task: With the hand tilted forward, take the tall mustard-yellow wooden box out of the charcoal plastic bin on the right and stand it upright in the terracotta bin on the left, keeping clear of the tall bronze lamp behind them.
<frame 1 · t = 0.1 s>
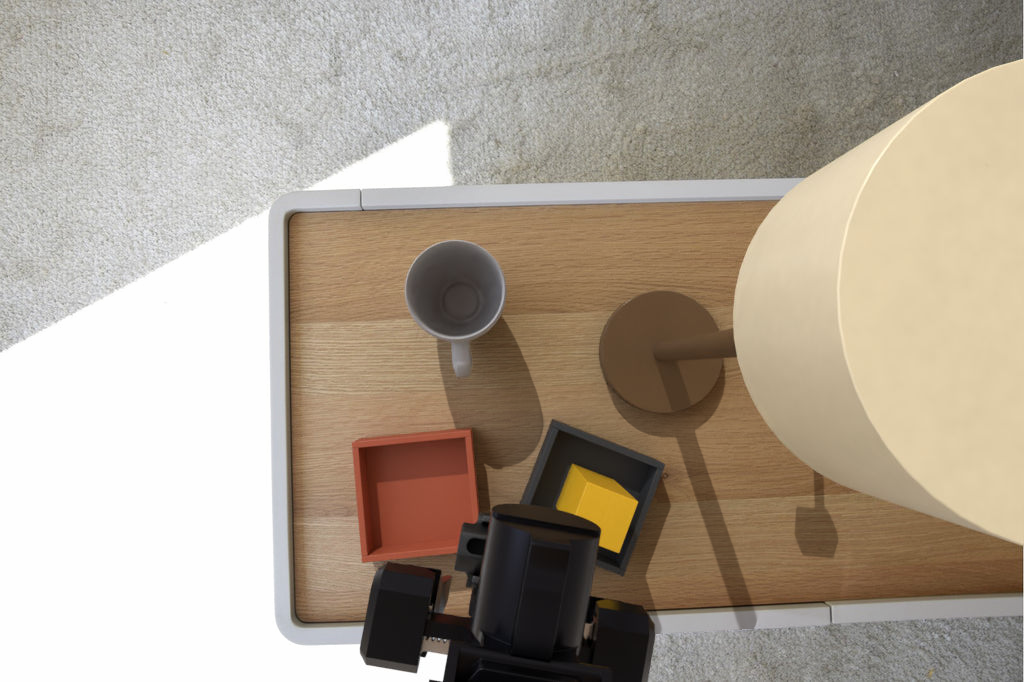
hand: (506, 591, 52), 13 cm above the table, tool pointing down, fingers open, 9 cm apart
tall lamp: (657, 352, 66), on the table
bin left: (421, 489, 65), on the table
yellow box: (585, 492, 65), point 1 cm above the table, touching bin right
mug: (462, 317, 66), on the table
bin right: (584, 491, 65), on the table
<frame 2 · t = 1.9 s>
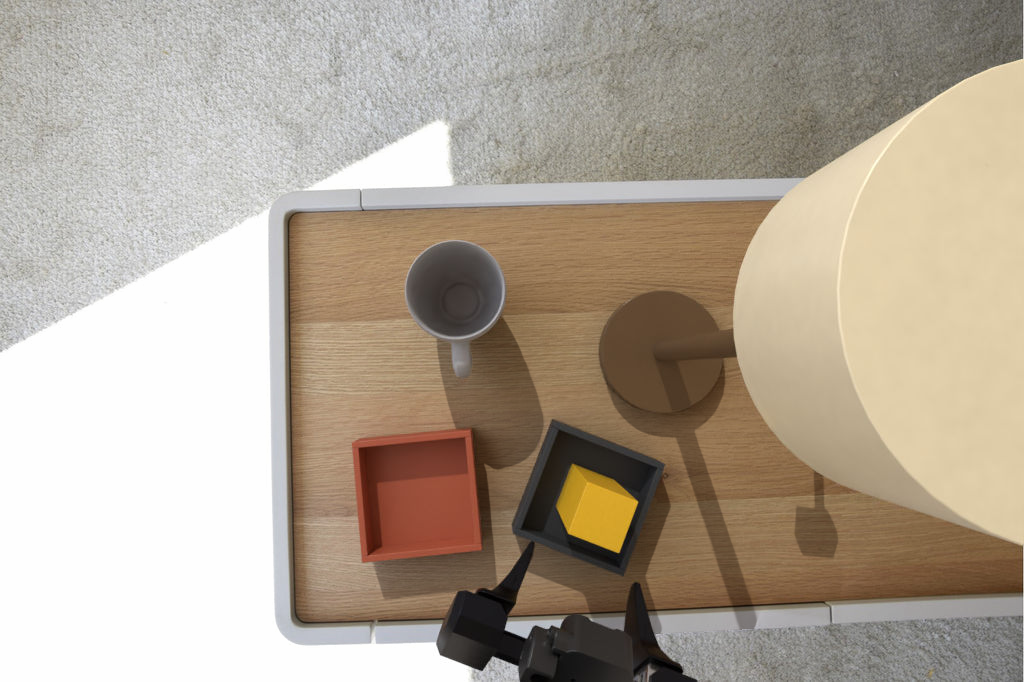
hand: (583, 563, 54), 11 cm above the table, tool tilted 45°, fingers open, 9 cm apart
nothing on the table moved.
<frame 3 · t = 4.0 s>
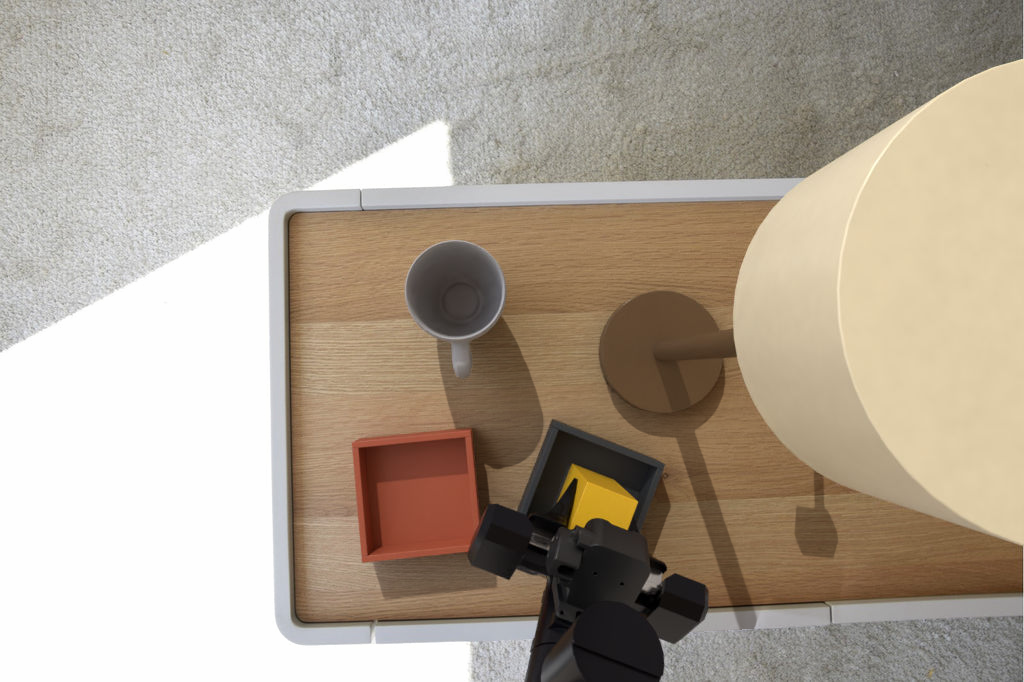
hand: (599, 490, 59), 7 cm above the table, tool tilted 45°, fingers closed on yellow box, 4 cm apart
yellow box: (584, 492, 65), point 1 cm above the table, touching bin right, gripper
everything else where it was.
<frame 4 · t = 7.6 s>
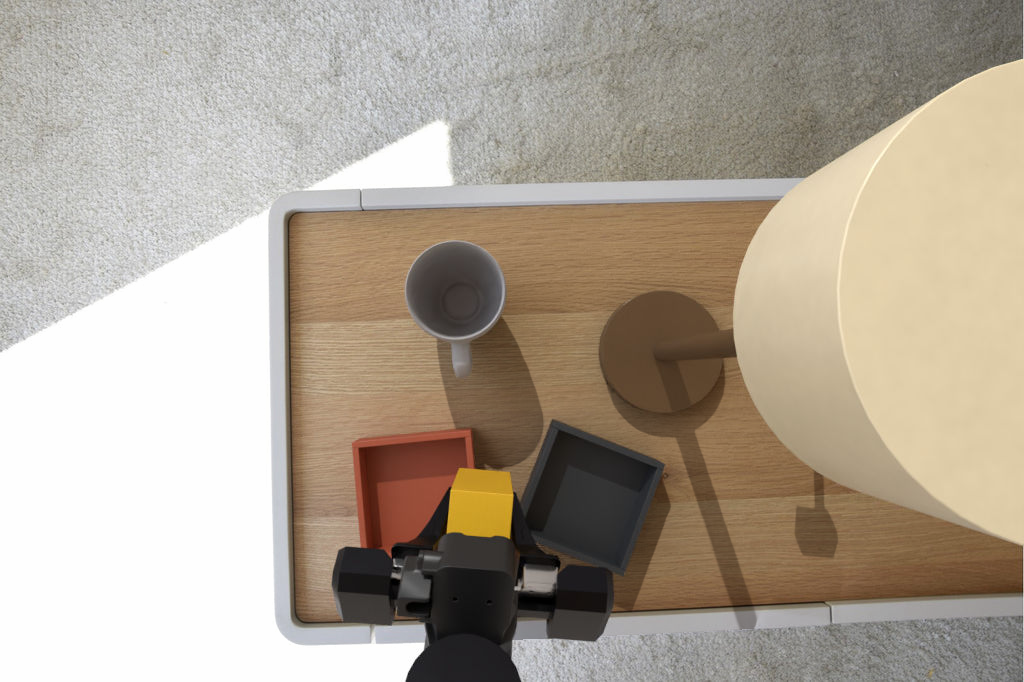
hand: (482, 492, 52), 13 cm above the table, tool tilted 45°, fingers closed on yellow box, 4 cm apart
yellow box: (482, 495, 58), point 7 cm above the table, touching gripper
everything else where it was.
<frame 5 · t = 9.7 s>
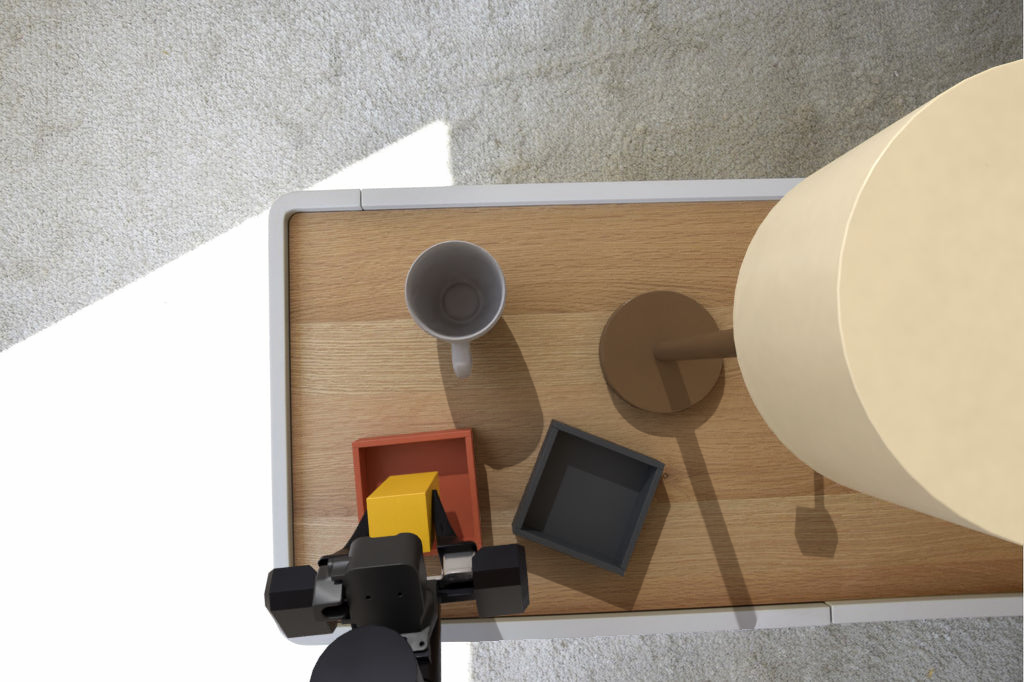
hand: (406, 495, 55), 10 cm above the table, tool tilted 45°, fingers closed on yellow box, 4 cm apart
yellow box: (416, 498, 61), point 4 cm above the table, touching gripper
everything else where it was.
when the fingers open (7 cm above the table, at t = 11.1 s): yellow box stays where it is, resting on bin left.
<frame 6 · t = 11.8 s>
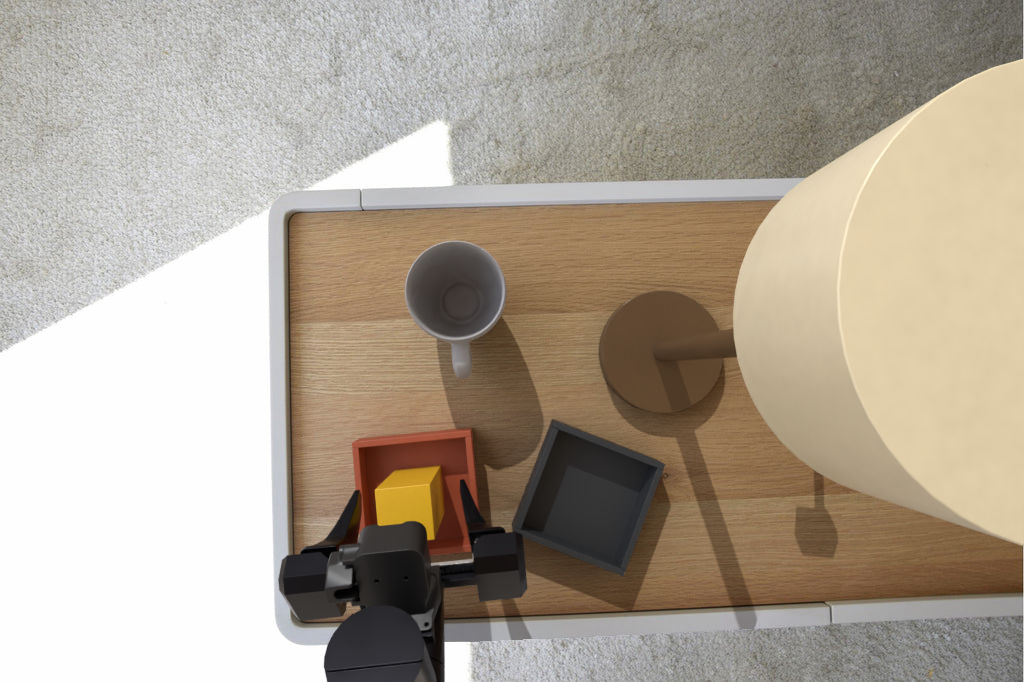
hand: (410, 487, 58), 7 cm above the table, tool tilted 45°, fingers open, 9 cm apart
yellow box: (420, 490, 64), point 1 cm above the table, touching bin left
everything else where it was.
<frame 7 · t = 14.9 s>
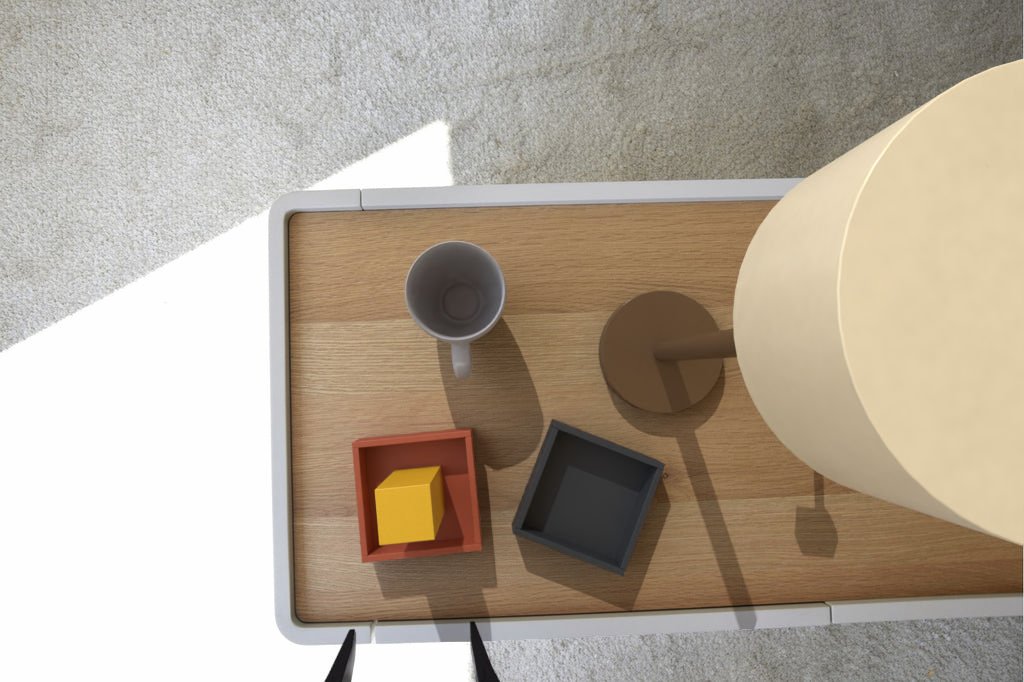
hand: (413, 627, 51), 14 cm above the table, tool tilted 45°, fingers open, 9 cm apart
nothing on the table moved.
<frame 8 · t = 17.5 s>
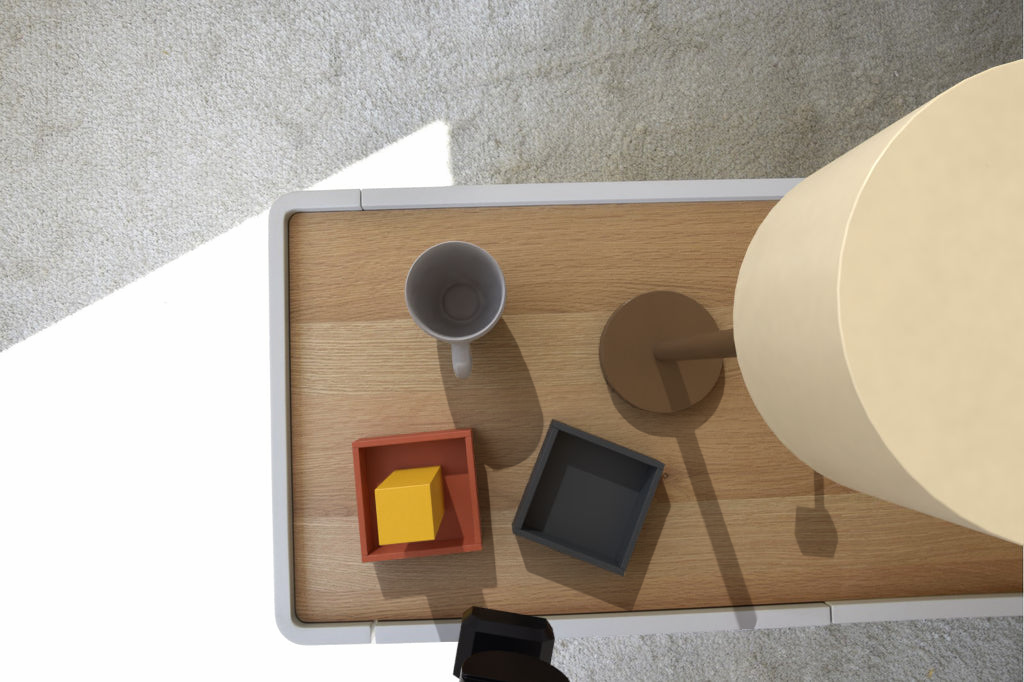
nothing on the table moved.
at the end: yellow box inside the target area in the bin left (0.0 cm from its centre), point 0.6 cm above the bin left's base; yellow box tilted 0°; yellow box touching bin left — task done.
